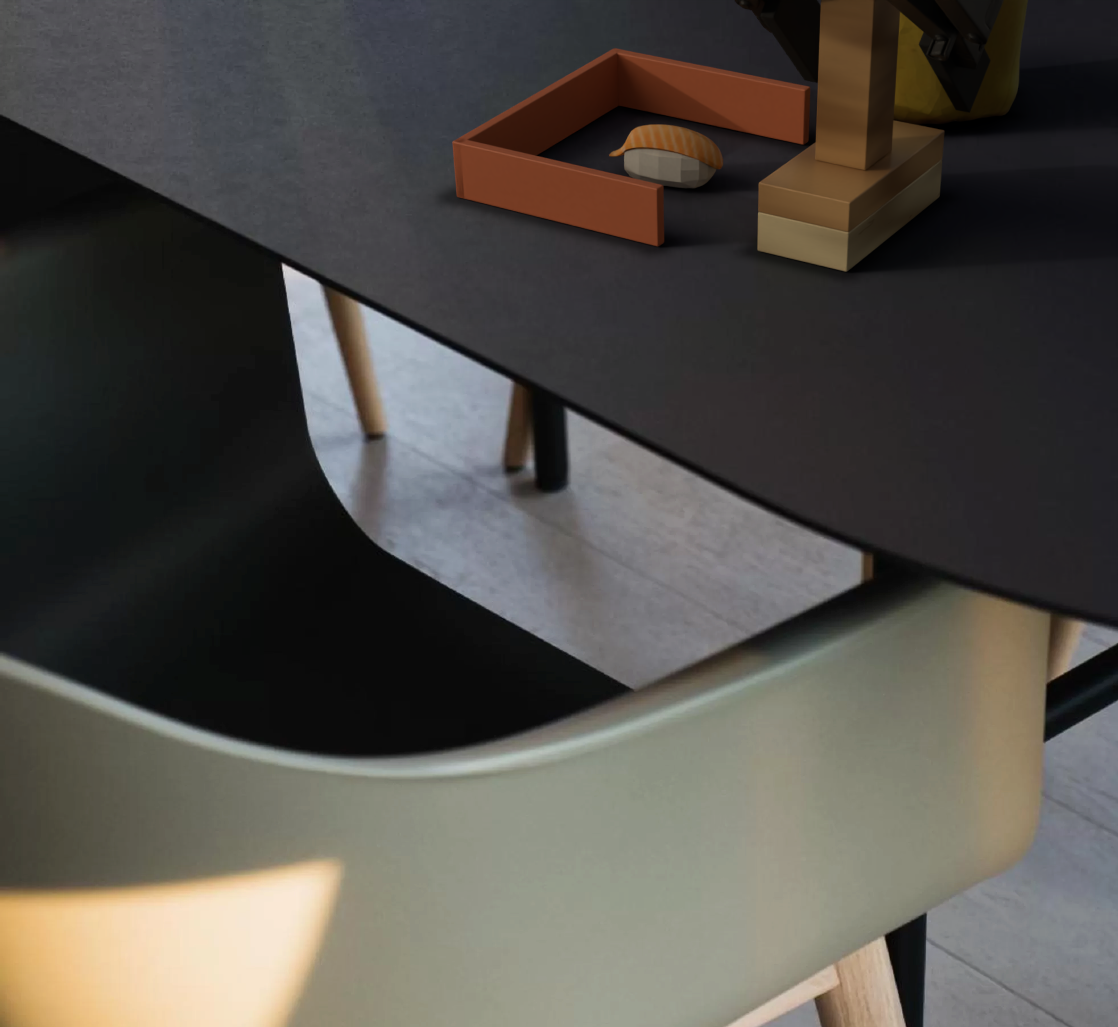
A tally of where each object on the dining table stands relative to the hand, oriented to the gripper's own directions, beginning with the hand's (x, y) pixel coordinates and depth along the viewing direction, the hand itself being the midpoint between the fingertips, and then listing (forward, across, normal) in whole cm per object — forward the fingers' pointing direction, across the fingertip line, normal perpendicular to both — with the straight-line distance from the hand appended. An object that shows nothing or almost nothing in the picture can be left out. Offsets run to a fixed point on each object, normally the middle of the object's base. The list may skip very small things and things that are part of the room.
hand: (895, 70), depth 101 cm
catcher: (+2, -13, -7) cm, 15 cm away
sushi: (+2, -11, -8) cm, 13 cm away
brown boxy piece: (+2, 0, -7) cm, 7 cm away
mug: (+14, -4, +5) cm, 16 cm away
